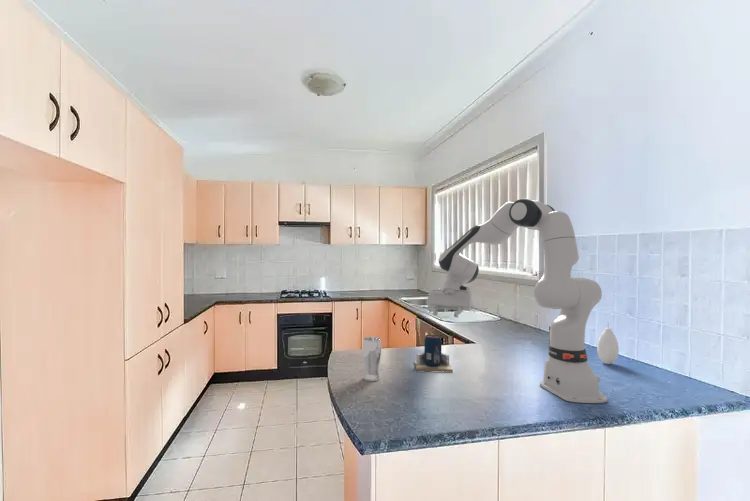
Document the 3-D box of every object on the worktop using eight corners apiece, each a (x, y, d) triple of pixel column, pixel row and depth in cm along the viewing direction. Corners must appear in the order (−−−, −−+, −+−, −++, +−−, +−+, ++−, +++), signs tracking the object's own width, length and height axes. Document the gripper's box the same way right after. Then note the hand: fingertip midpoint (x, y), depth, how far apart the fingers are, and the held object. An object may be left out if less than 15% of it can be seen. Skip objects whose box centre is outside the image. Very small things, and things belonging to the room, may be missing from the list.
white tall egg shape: (593, 362, 170) (593, 321, 170) (604, 360, 173) (605, 320, 173) (610, 367, 163) (611, 324, 163) (622, 365, 166) (622, 323, 166)
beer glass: (358, 379, 143) (359, 339, 143) (367, 374, 149) (368, 335, 149) (375, 383, 140) (376, 341, 140) (384, 377, 146) (384, 337, 146)
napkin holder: (452, 372, 154) (452, 359, 154) (417, 371, 154) (417, 359, 154) (447, 362, 167) (447, 351, 167) (414, 362, 167) (414, 350, 167)
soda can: (429, 361, 164) (429, 333, 164) (444, 365, 160) (444, 336, 160) (421, 365, 159) (421, 336, 159) (436, 368, 154) (436, 338, 154)
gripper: (429, 285, 182) (421, 309, 173) (472, 288, 172) (466, 313, 163) (432, 293, 186) (424, 317, 177) (475, 296, 176) (469, 322, 167)
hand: (445, 315), depth 170 cm, fingers open, 8 cm apart
